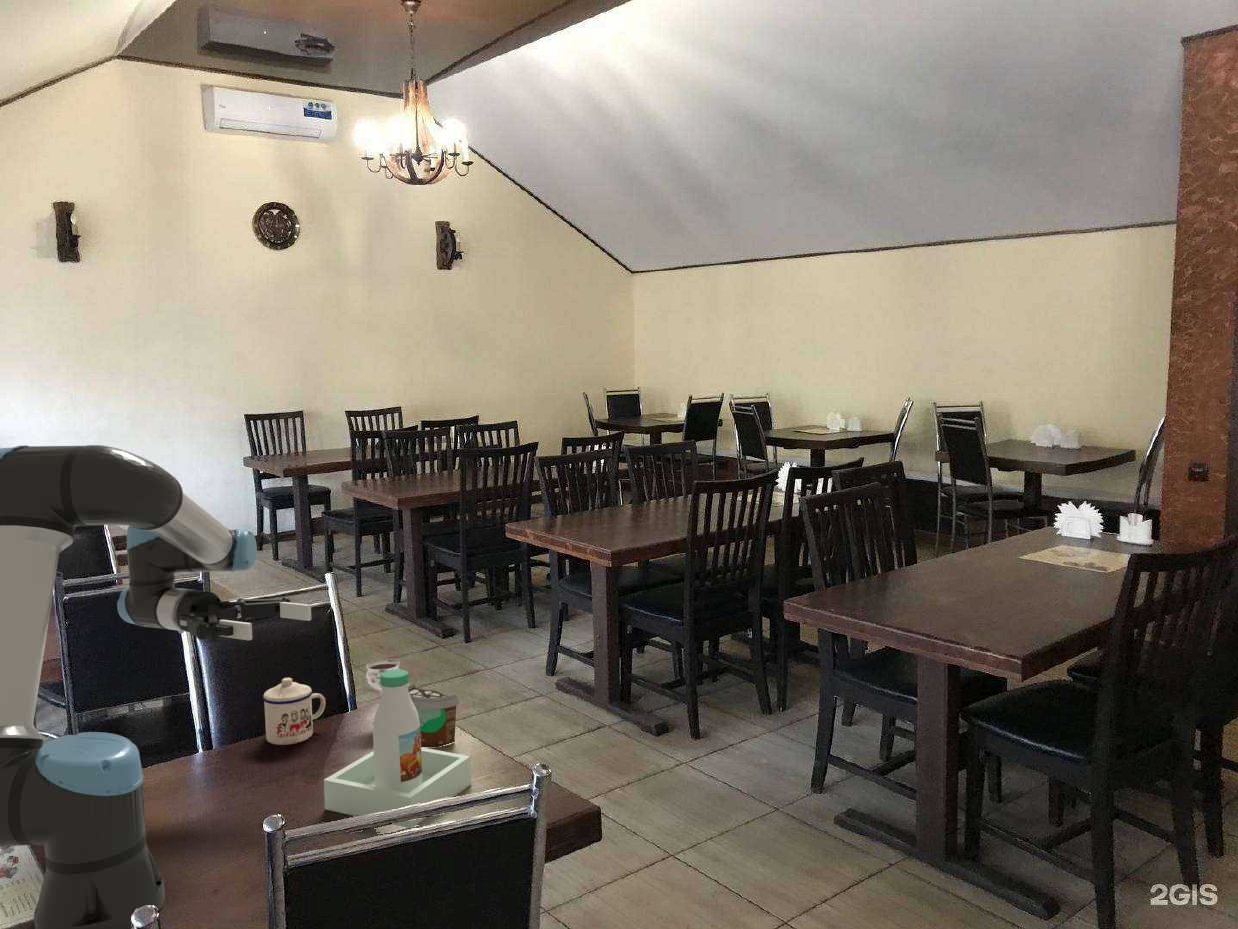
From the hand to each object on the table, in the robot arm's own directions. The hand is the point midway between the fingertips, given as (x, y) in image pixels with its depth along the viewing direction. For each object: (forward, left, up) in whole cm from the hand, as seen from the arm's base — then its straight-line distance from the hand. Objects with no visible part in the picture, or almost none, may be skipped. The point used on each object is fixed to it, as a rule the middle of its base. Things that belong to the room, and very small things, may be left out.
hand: (281, 622), depth 162 cm
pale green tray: (+3, -21, -29) cm, 36 cm away
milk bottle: (+3, -21, -28) cm, 35 cm away
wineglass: (+30, +2, -29) cm, 41 cm away
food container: (+24, -12, -29) cm, 39 cm away
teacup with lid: (+18, +14, -29) cm, 37 cm away
